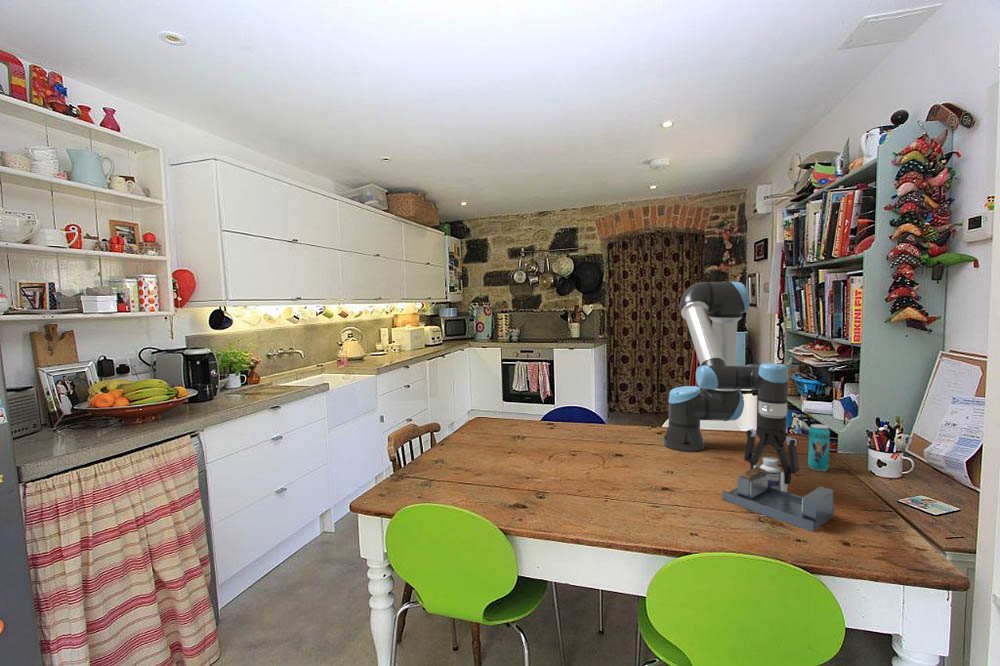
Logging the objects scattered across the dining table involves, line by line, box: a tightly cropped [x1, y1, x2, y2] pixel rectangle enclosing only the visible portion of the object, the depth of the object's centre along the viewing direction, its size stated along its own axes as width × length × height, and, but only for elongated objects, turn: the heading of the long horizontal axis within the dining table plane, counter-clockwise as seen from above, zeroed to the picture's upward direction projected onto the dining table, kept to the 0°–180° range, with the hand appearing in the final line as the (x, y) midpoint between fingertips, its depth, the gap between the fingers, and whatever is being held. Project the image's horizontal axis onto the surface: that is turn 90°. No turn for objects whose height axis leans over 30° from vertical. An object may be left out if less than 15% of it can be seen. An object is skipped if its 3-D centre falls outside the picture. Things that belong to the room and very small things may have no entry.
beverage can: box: [807, 423, 831, 472], centre depth 155 cm, size 6×6×15 cm
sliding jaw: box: [737, 467, 768, 500], centre depth 132 cm, size 3×11×7 cm, turn 126°
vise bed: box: [722, 486, 835, 533], centre depth 127 cm, size 23×14×8 cm, turn 36°
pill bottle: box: [760, 456, 782, 490], centre depth 139 cm, size 5×5×10 cm
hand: (769, 489), depth 139 cm, fingers open, 7 cm apart
